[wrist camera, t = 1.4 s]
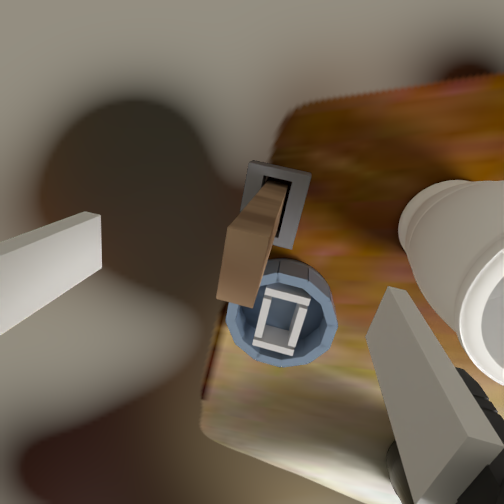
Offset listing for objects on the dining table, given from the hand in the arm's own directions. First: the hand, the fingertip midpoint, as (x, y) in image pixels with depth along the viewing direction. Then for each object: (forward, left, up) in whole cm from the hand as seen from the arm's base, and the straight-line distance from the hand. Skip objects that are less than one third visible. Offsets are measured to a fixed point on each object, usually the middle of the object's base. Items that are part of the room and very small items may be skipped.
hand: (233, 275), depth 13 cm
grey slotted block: (0, 0, -17) cm, 17 cm away
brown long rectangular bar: (0, 0, -17) cm, 17 cm away
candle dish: (-11, -4, -17) cm, 21 cm away
